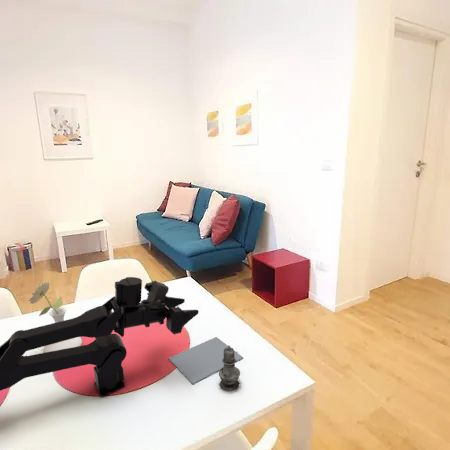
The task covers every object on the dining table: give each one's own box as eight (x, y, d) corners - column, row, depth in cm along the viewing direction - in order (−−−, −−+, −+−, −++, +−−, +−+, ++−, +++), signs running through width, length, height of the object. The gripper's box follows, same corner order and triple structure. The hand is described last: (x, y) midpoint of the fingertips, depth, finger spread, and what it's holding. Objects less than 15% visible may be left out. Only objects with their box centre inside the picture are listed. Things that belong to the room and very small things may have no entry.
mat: (192, 384, 90) (192, 383, 90) (168, 359, 100) (168, 358, 100) (243, 358, 100) (243, 357, 100) (216, 337, 111) (216, 336, 111)
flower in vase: (68, 336, 113) (58, 268, 107) (90, 346, 108) (81, 274, 102) (31, 357, 103) (17, 282, 96) (52, 369, 97) (39, 291, 91)
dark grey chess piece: (238, 393, 86) (238, 353, 83) (216, 390, 87) (215, 350, 85) (241, 378, 92) (241, 340, 89) (221, 375, 93) (220, 337, 90)
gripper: (152, 298, 81) (207, 290, 90) (130, 276, 97) (179, 271, 105) (151, 340, 83) (205, 328, 91) (129, 312, 98) (177, 304, 107)
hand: (191, 305), depth 99 cm, fingers open, 9 cm apart
